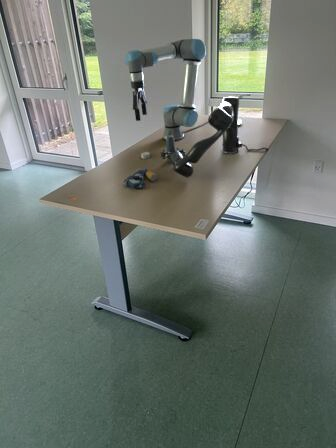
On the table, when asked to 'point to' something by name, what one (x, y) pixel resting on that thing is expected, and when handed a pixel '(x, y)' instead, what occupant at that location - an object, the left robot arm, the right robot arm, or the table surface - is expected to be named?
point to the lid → (145, 155)
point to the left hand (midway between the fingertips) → (141, 117)
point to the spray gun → (139, 178)
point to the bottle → (170, 144)
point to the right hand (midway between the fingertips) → (170, 150)
